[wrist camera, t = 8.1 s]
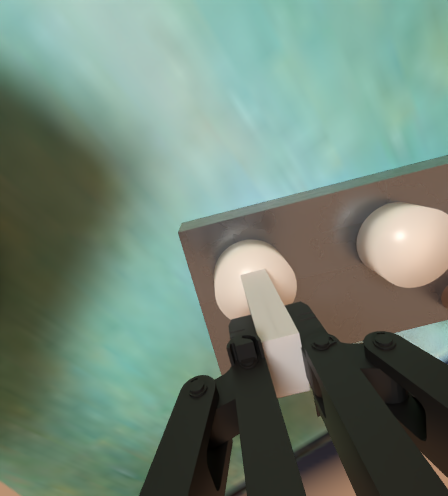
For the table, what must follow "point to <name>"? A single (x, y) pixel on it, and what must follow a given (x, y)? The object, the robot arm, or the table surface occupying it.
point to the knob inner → (245, 261)
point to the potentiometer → (445, 297)
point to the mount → (325, 253)
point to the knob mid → (405, 243)
